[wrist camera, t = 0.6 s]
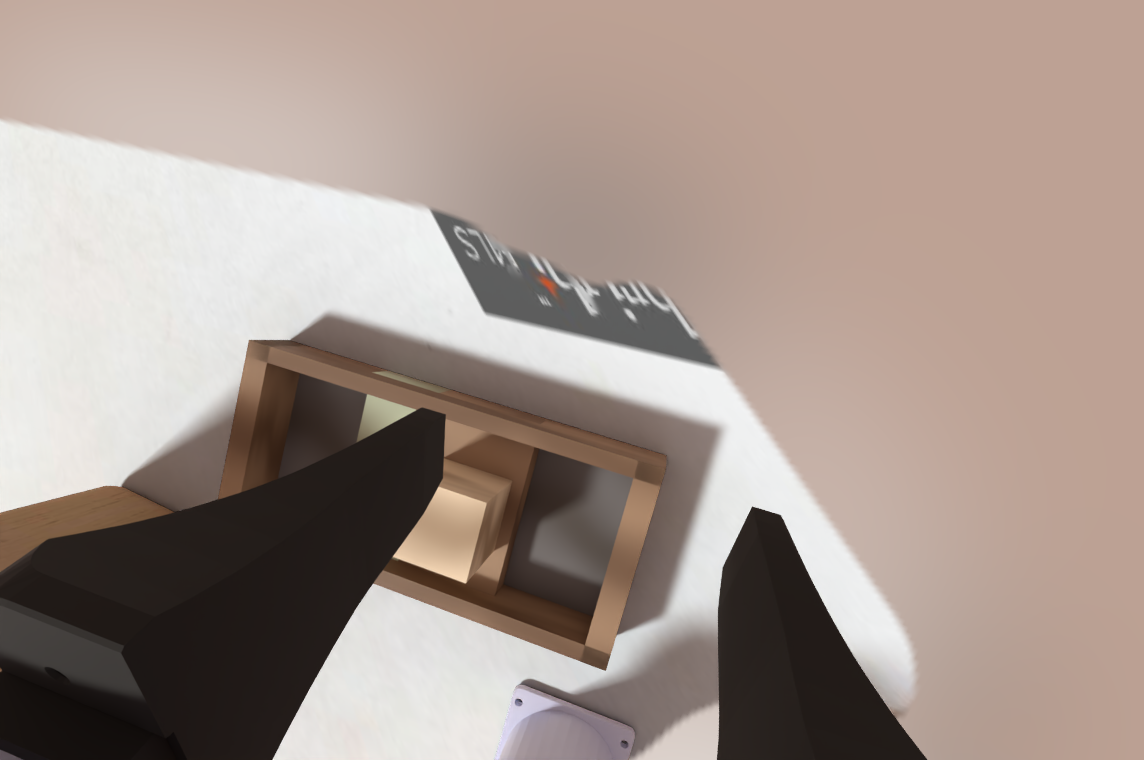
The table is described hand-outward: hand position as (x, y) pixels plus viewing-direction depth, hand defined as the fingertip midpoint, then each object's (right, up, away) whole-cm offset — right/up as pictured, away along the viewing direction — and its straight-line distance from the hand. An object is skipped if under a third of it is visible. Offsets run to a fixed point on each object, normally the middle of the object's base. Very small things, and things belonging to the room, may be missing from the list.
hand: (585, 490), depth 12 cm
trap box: (-9, -4, +23) cm, 24 cm away
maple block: (-7, -5, +20) cm, 22 cm away
